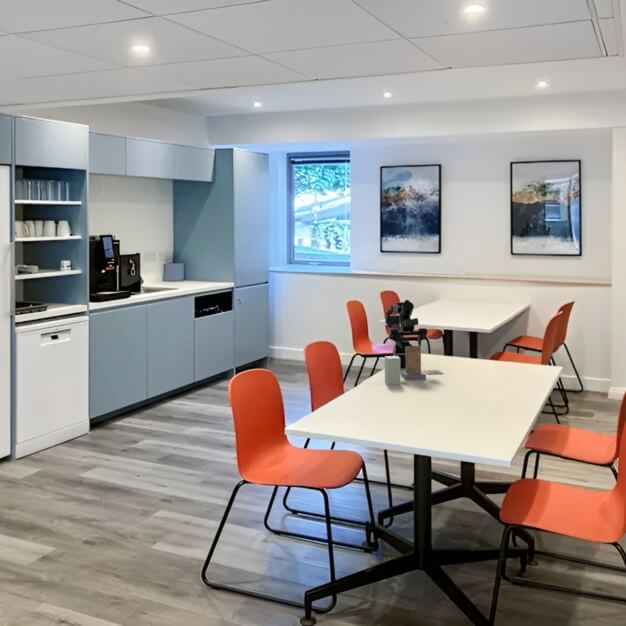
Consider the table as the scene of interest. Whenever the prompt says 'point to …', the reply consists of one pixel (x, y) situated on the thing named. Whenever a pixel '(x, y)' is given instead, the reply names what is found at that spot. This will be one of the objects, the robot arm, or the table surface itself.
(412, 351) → the walnut pillar
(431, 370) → the tile
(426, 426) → the table surface
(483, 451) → the table surface
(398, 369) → the sage pillar
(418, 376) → the slate block
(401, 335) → the robot arm
